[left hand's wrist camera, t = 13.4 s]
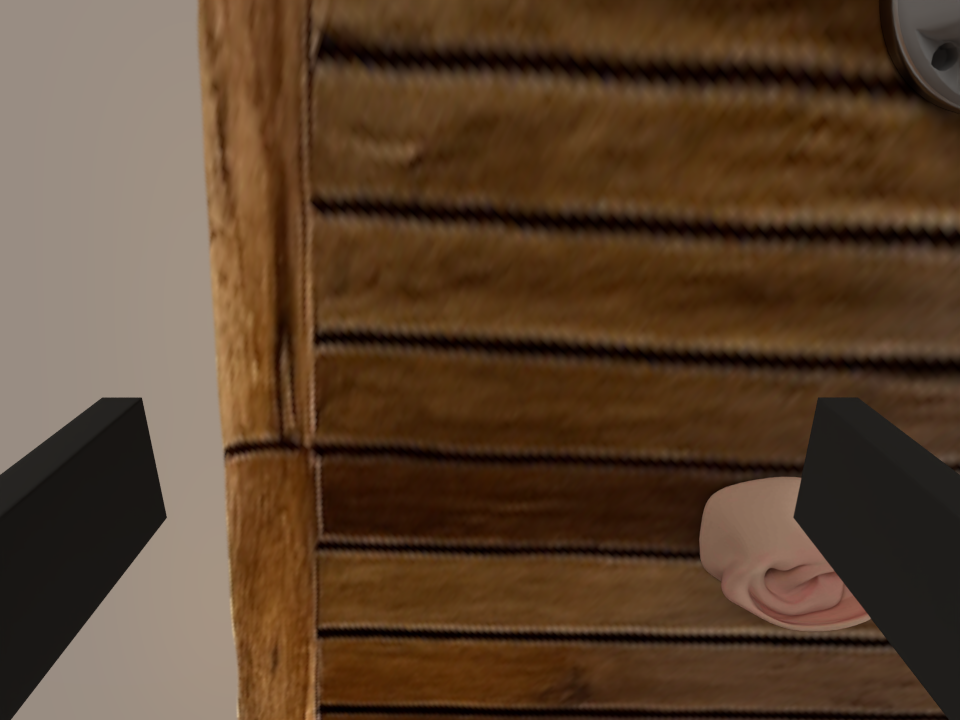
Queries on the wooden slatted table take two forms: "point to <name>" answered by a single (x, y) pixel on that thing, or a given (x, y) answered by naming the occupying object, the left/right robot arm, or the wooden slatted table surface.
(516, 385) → the wooden slatted table surface
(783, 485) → the anatomical model
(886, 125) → the wooden slatted table surface
